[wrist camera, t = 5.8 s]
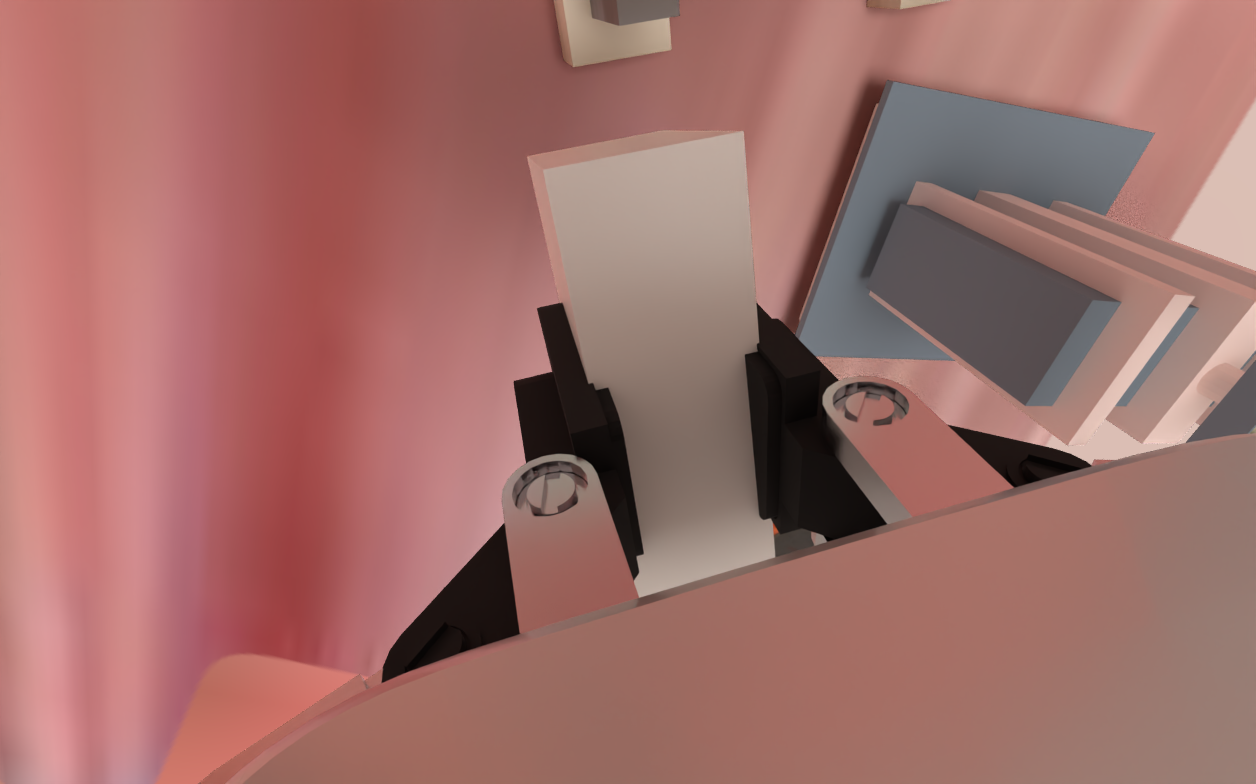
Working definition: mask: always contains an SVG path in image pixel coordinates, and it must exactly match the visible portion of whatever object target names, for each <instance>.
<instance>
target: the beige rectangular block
mask: <svg viewBox="0 0 1256 784" xmlns="http://www.w3.org/2000/svg"><path fill="white" fill-rule="evenodd" d="M527 159H528V164H529V168H530V173H531V177H532V182H533V186H534V191H535V195H536V200H537V204H538V209H539V213H540V218H541V222H542V227H543V231H544V236H545V240H546V245H547V249H548V253H549V258H550V262H551V267H552V271H553V276H554V280H555V285H556V289H557V294H558V298H559V303H563V306H564V309H565V312H566V315H567V318H568V321H569V324H570V328H571V331H572V334H573V337H574V340H575V343H576V346H577V349H578V352H579V356H580V359H581V362H582V365H583V368H584V371H585V374H586V377H587V380H588V384H590V383H593V384H594V387H595V390H599V389H603V388H609V391H610V393H611V396H612V398H613V401H614V404H615V406H616V409H617V412H618V415H619V418H620V421H621V425H622V429H623V434H624V439H625V445H626V450H627V456H628V462H629V468H630V474H631V480H632V486H633V492H634V497H635V503H636V509H637V515H638V521H639V527H640V533H641V539H642V544H643V550H644V554H643V555H640V556H637V562H638V567H639V574H638V575H637V577H636V578H635V580H634V584H635V587H636V590H637V593H638V596H639V598H640V597H643V596H647V595H650V594H653V593H657V592H660V591H663V590H667V589H670V588H673V587H677V586H680V585H683V584H687V583H690V582H693V581H697V580H700V579H703V578H707V577H710V576H714V575H717V574H720V573H724V572H727V571H730V570H734V569H737V568H740V567H744V566H747V565H751V564H754V563H757V562H761V561H764V560H768V559H771V558H774V557H775V547H774V533H773V522H772V520H771V518H770V519H766V520H763V519H761V518H760V516H759V508H758V497H757V486H756V475H755V464H754V453H753V442H752V431H751V420H750V408H749V397H748V386H747V375H746V364H745V354H749V353H753V352H757V351H758V350H757V343H759V331H758V318H757V304H756V291H755V277H754V264H753V250H752V237H751V223H750V210H749V197H748V183H747V170H746V156H745V143H744V131H705V130H661V131H656V132H651V133H645V134H640V135H635V136H630V137H624V138H619V139H614V140H609V141H603V142H598V143H593V144H588V145H582V146H577V147H572V148H567V149H561V150H556V151H551V152H546V153H540V154H535V155H530V156H527Z"/></svg>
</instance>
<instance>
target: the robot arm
mask: <svg viewBox="0 0 1256 784" xmlns="http://www.w3.org/2000/svg"><path fill="white" fill-rule="evenodd" d="M756 304H757V303H756ZM537 310H538V315H539V319H540V323H541V327H542V331H543V335H544V339H545V343H546V348H547V352H548V356H549V360H550V364H551V368H552V372H550V373H546V374H541V375H537V376H533V377H529V378H525V379H521V380H516V381H514V389H515V395H516V402H517V408H518V414H519V421H520V427H521V433H522V440H523V446H524V453H525V459H526V464H525V465H523V466H521V467H520V468H518V469H517V470H516V471H515V472H514V473H513V474H512V475H511V476H510V477H509V479H508V480H507V482H506V484H505V486H504V488H503V491H502V507H503V514H504V522H505V523H504V524H503V525H502V526H501V527H500V528H499V529H498V530H497V531H496V533H495V534H494V535H493V536H492V537H491V538H490V539H489V540H488V541H487V542H486V543H485V544H484V546H483V547H482V548H481V549H480V550H479V551H478V552H477V553H476V554H475V555H474V556H473V558H472V559H471V560H470V561H469V562H468V563H467V564H466V565H465V566H464V567H463V568H462V569H461V571H460V572H459V573H458V574H457V575H456V576H455V577H454V578H453V579H452V580H451V581H450V582H449V584H448V585H447V586H446V587H445V588H444V589H443V590H442V591H441V592H440V593H439V594H438V595H437V597H436V598H435V599H434V600H433V601H432V602H431V603H430V604H429V605H428V606H427V607H426V608H425V610H424V611H423V612H422V613H421V614H420V615H419V616H418V617H417V618H416V619H415V620H414V622H413V623H412V624H411V625H410V626H409V627H408V628H407V629H406V630H405V631H404V632H403V633H402V635H401V636H400V637H399V639H398V640H397V641H396V643H395V644H394V645H393V647H392V648H391V649H390V651H389V654H388V656H387V659H386V661H385V663H384V666H383V669H381V670H380V671H378V672H377V673H375V674H374V675H372V676H371V677H369V678H368V679H366V680H364V679H363V677H362V676H361V675H360V674H359V675H357V676H356V677H354V678H353V679H351V680H350V681H348V682H347V683H345V684H344V685H342V686H341V687H339V688H338V689H336V690H335V691H333V692H332V693H330V694H329V695H327V696H326V697H324V698H323V699H321V700H320V701H318V702H317V703H315V704H314V705H312V706H311V707H309V708H308V709H306V710H305V711H303V712H302V713H300V714H299V715H297V716H296V717H294V718H292V719H291V720H290V721H288V722H286V723H285V724H283V725H282V726H280V727H279V728H277V729H276V730H275V731H273V732H271V733H270V734H268V735H267V736H265V737H264V738H262V739H261V740H259V741H258V742H256V743H255V744H253V745H252V746H250V747H249V748H247V749H246V750H244V751H243V752H241V753H240V754H238V755H237V756H235V757H234V758H232V759H231V760H229V761H228V762H226V763H225V764H223V765H222V766H220V767H219V768H217V769H216V770H214V771H213V772H212V773H210V774H209V775H208V776H207V777H206V778H204V779H203V780H202V781H201V782H200V783H199V784H1256V433H1252V434H1239V435H1230V436H1224V437H1218V438H1212V439H1206V440H1200V441H1194V442H1188V443H1184V444H1179V445H1175V446H1172V447H1167V448H1163V449H1159V450H1155V451H1150V452H1146V453H1141V454H1137V455H1133V456H1129V457H1125V458H1122V459H1118V460H1094V461H1093V463H1092V465H1090V464H1089V463H1087V462H1086V461H1084V460H1082V459H1080V458H1078V457H1076V456H1074V455H1072V454H1069V453H1066V452H1063V451H1060V450H1057V449H1053V448H1049V447H1045V446H1040V445H1036V444H1031V443H1027V442H1022V441H1018V440H1013V439H1009V438H1004V437H1000V436H996V435H991V434H987V433H982V432H978V431H973V430H969V429H964V428H960V427H955V426H951V425H947V424H946V423H945V422H943V421H942V420H941V419H940V418H939V417H938V416H937V415H936V414H935V413H934V412H933V411H932V410H931V409H930V408H929V407H927V406H926V405H925V404H924V403H923V402H922V401H921V400H920V399H919V398H918V397H917V396H916V395H915V394H914V393H913V392H911V391H910V390H908V389H907V388H906V387H904V386H903V385H901V384H898V383H896V382H894V381H891V380H888V379H883V378H879V377H871V376H857V377H850V378H845V379H842V380H840V381H839V380H838V379H837V378H836V377H835V376H834V375H833V374H832V373H831V372H830V371H829V370H828V369H827V368H826V367H825V366H824V365H823V364H822V363H821V362H820V361H819V360H818V359H817V358H816V357H815V355H814V354H813V353H812V352H811V351H810V350H809V349H808V348H807V347H806V346H805V345H804V344H803V343H802V342H801V341H800V340H799V339H798V338H797V337H796V336H795V335H794V334H793V333H792V332H791V331H790V330H789V329H788V328H787V327H786V326H785V325H784V324H783V322H781V321H780V320H779V319H772V318H771V317H770V316H769V315H768V314H767V313H766V312H765V311H764V310H763V309H762V308H761V307H760V306H759V305H758V304H757V318H758V331H759V343H757V350H758V351H757V352H753V353H749V354H745V364H746V375H747V386H748V397H749V408H750V420H751V431H752V442H753V453H754V464H755V475H756V486H757V497H758V508H759V516H760V518H761V519H763V520H766V519H770V518H771V520H772V522H773V523H774V525H775V527H776V528H777V530H778V532H779V534H780V535H781V534H785V533H788V532H791V531H795V530H798V529H805V530H808V531H811V538H812V541H813V543H814V546H812V547H809V548H805V549H802V550H798V551H795V552H791V553H788V554H785V555H781V556H778V557H774V558H771V559H768V560H764V561H761V562H757V563H754V564H751V565H747V566H744V567H740V568H737V569H734V570H730V571H727V572H724V573H720V574H717V575H714V576H710V577H707V578H703V579H700V580H697V581H693V582H690V583H687V584H683V585H680V586H677V587H673V588H670V589H667V590H663V591H660V592H657V593H653V594H650V595H647V596H643V597H640V598H639V596H638V593H637V590H636V587H635V584H634V580H635V578H636V577H637V575H638V574H639V567H638V562H637V556H640V555H643V554H644V550H643V544H642V539H641V533H640V527H639V521H638V515H637V509H636V503H635V497H634V492H633V486H632V480H631V474H630V468H629V462H628V456H627V450H626V445H625V439H624V434H623V429H622V425H621V421H620V418H619V415H618V412H617V409H616V406H615V404H614V401H613V398H612V396H611V393H610V391H609V388H603V389H599V390H595V387H594V384H593V383H590V384H588V380H587V377H586V374H585V371H584V368H583V365H582V362H581V359H580V356H579V352H578V349H577V346H576V343H575V340H574V337H573V334H572V331H571V328H570V324H569V321H568V318H567V315H566V312H565V309H564V306H563V303H558V304H553V305H549V306H545V307H540V308H537Z"/></svg>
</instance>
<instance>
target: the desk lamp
mask: <svg viewBox="0 0 1256 784" xmlns="http://www.w3.org/2000/svg"><path fill="white" fill-rule="evenodd" d="M1154 134H1155V133H1152V132H1147V131H1143V130H1137V129H1132V128H1127V127H1122V126H1117V125H1112V124H1107V123H1102V122H1097V121H1092V120H1087V119H1082V118H1077V117H1072V116H1067V115H1062V114H1056V113H1051V112H1046V111H1041V110H1036V109H1031V108H1026V107H1021V106H1016V105H1011V104H1006V103H1001V102H996V101H991V100H986V99H981V98H976V97H970V96H965V95H960V94H955V93H950V92H945V91H940V90H935V89H930V88H925V87H920V86H915V85H910V84H905V83H900V82H895V81H889V80H887V82H886V85H885V87H884V90H883V93H882V96H881V98H880V101H879V104H878V103H876V105H875V108H874V111H873V114H872V116H871V119H870V122H869V125H868V128H867V130H866V133H865V136H864V139H863V141H862V144H861V147H860V150H859V153H858V155H857V158H856V161H855V164H854V167H853V169H852V172H851V175H850V178H849V180H848V183H847V186H846V189H845V192H844V194H843V197H842V200H841V203H840V205H839V208H838V211H837V214H836V217H835V219H834V222H833V225H832V228H831V230H830V233H829V236H828V239H827V242H826V244H825V247H824V250H823V253H822V255H821V258H820V261H819V264H818V267H817V269H816V272H815V275H814V278H813V280H812V283H811V286H810V289H809V292H808V294H807V297H806V300H805V303H804V305H803V308H802V311H801V314H800V317H799V320H800V322H799V325H798V328H797V331H796V333H795V336H796V337H797V338H798V339H799V340H800V341H801V342H802V343H803V344H804V345H805V346H806V347H807V348H808V349H809V350H810V351H811V352H812V353H813V354H814V355H815V356H823V357H855V358H886V359H918V360H949V361H957V362H958V363H959V364H960V365H962V366H963V367H964V368H966V369H967V370H968V371H970V372H971V373H972V374H974V375H975V376H976V377H978V378H979V379H980V380H982V381H983V382H984V383H985V384H987V385H988V386H989V387H991V388H992V389H993V390H995V391H996V392H997V393H999V394H1000V395H1001V396H1003V397H1004V398H1005V399H1007V400H1008V401H1009V402H1011V403H1012V404H1013V405H1014V406H1016V407H1017V408H1018V409H1020V410H1021V411H1022V412H1024V413H1025V414H1026V415H1028V416H1029V417H1030V418H1032V419H1033V420H1034V421H1036V422H1037V423H1038V424H1040V425H1041V426H1042V427H1043V428H1045V429H1046V430H1047V431H1049V432H1050V433H1051V434H1053V435H1054V436H1055V437H1057V438H1058V439H1059V440H1061V441H1062V442H1063V443H1065V444H1066V445H1086V444H1087V443H1088V442H1089V440H1090V439H1091V438H1092V436H1093V435H1094V434H1095V432H1096V431H1097V429H1098V428H1099V427H1100V425H1101V424H1102V423H1103V421H1104V420H1105V419H1106V420H1107V421H1109V422H1111V423H1112V424H1113V425H1115V426H1116V427H1118V428H1119V429H1121V430H1122V431H1124V432H1125V433H1127V434H1128V435H1130V436H1131V437H1133V438H1134V439H1136V440H1137V441H1139V442H1140V443H1142V444H1155V443H1157V444H1158V443H1178V442H1179V441H1180V440H1181V439H1182V438H1183V437H1184V435H1185V434H1186V433H1187V432H1188V430H1189V429H1190V428H1191V427H1192V426H1193V425H1194V423H1197V424H1199V425H1200V426H1199V427H1198V429H1197V430H1196V431H1195V432H1194V433H1193V435H1192V436H1191V437H1190V438H1189V439H1188V440H1187V442H1186V443H1188V442H1194V441H1200V440H1206V439H1212V438H1218V437H1224V436H1230V435H1239V434H1252V433H1256V271H1254V270H1251V269H1248V268H1246V267H1243V266H1240V265H1237V264H1235V263H1232V262H1229V261H1226V260H1224V259H1221V258H1218V257H1215V256H1213V255H1210V254H1207V253H1205V252H1202V251H1199V250H1196V249H1194V248H1191V247H1188V246H1185V245H1183V244H1180V243H1177V242H1174V241H1172V240H1169V239H1166V238H1164V237H1161V236H1158V235H1155V234H1153V233H1150V232H1147V231H1144V230H1142V229H1139V228H1136V227H1133V226H1131V225H1128V224H1125V223H1122V222H1120V221H1117V220H1114V219H1112V218H1109V217H1106V216H1105V215H1106V214H1107V212H1108V210H1109V209H1110V207H1111V205H1112V204H1113V202H1114V200H1115V199H1116V197H1117V195H1118V194H1119V192H1120V190H1121V189H1122V187H1123V185H1124V184H1125V182H1126V180H1127V179H1128V177H1129V175H1130V174H1131V172H1132V170H1133V169H1134V167H1135V165H1136V164H1137V162H1138V160H1139V159H1140V157H1141V155H1142V154H1143V152H1144V150H1145V149H1146V147H1147V145H1148V144H1149V142H1150V141H1151V139H1152V137H1153V136H1154Z"/></svg>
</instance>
